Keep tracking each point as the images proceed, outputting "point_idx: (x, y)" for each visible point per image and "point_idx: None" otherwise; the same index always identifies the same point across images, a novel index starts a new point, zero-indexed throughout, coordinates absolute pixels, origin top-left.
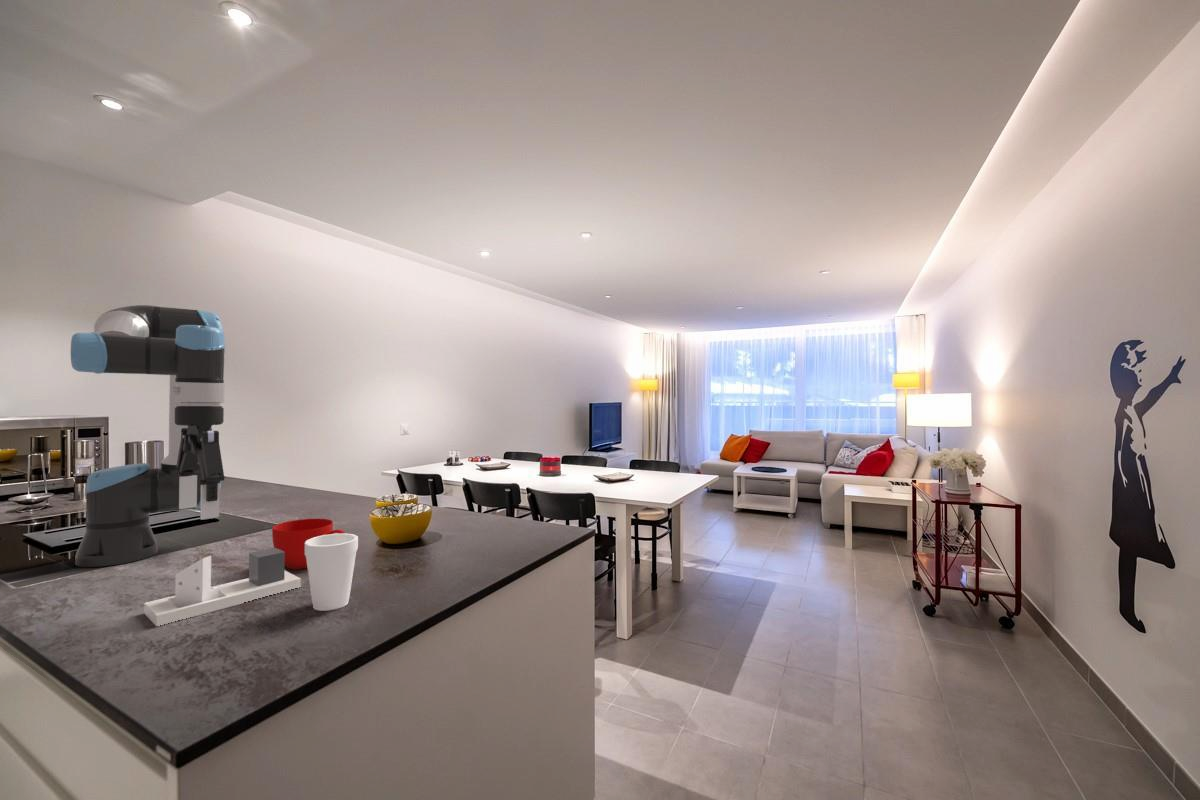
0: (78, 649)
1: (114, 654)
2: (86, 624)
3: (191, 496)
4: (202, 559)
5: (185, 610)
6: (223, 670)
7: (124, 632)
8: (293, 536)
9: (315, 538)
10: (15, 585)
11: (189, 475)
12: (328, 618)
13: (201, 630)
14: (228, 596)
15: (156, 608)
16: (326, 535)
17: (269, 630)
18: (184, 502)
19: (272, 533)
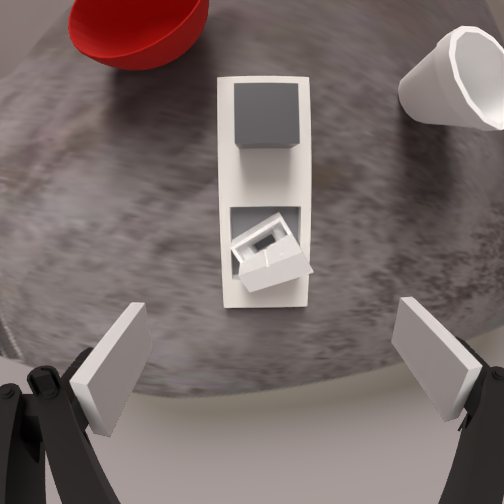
0: (304, 366)
1: (356, 342)
2: (213, 353)
3: (133, 343)
4: (312, 272)
5: None
6: (481, 270)
7: (289, 329)
8: (187, 29)
9: (460, 80)
10: (14, 358)
11: (79, 405)
12: (460, 132)
13: (371, 260)
14: (307, 205)
15: (270, 300)
16: (454, 53)
17: (441, 199)
18: (145, 350)
19: (110, 62)
